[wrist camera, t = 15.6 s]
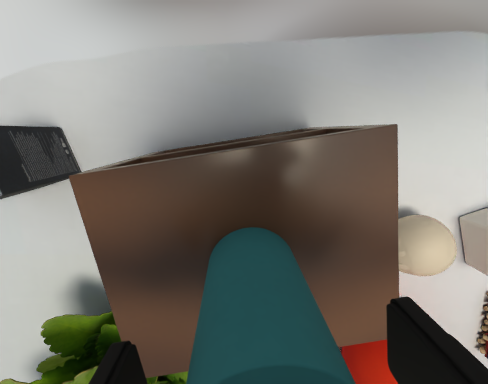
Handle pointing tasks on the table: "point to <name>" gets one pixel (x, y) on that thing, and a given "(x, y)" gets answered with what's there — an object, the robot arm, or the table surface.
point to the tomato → (368, 363)
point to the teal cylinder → (261, 319)
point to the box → (33, 158)
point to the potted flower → (82, 350)
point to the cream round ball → (424, 246)
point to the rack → (245, 216)
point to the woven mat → (484, 349)
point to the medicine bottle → (476, 239)
